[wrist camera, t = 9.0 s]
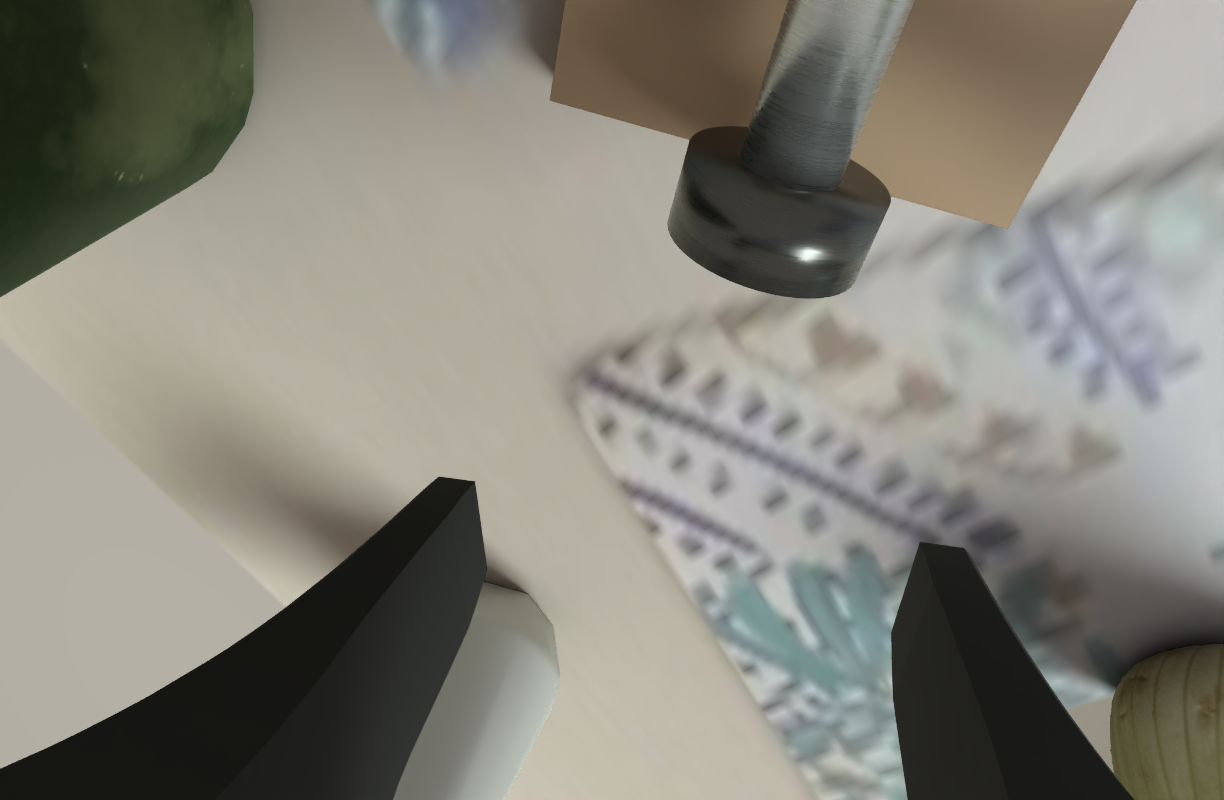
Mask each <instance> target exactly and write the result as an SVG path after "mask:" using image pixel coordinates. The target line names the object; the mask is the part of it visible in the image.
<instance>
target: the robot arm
mask: <svg viewBox="0 0 1224 800" xmlns="http://www.w3.org/2000/svg"><path fill="white" fill-rule="evenodd" d="M486 572H487V565H486V557H485V550H484V543H483V536H482V529H481V522H480V514H479V507H478V500H477V493H476V486H475V481H467V480H460V479H453V478H445V477H438V478H437V479H435V480H434V481H433V482H432V483H431V484H429V485H428V486H427V487H426V488H425V489H424V490H423V491H422V492H421V493H419V494H418V495H417V496H416V497H415V498H414V499H413V500H412V501H411V502H410V503H409V504H407V505H406V506H405V507H404V508H403V509H402V510H401V511H400V512H399V513H398V514H397V515H395V516H394V517H393V518H392V519H391V520H390V521H389V522H388V523H387V524H385V525H384V526H383V527H382V528H381V529H380V530H379V531H378V532H377V533H375V534H374V535H373V536H372V537H371V538H370V539H369V540H367V541H366V542H365V543H364V544H363V545H362V546H361V547H359V548H358V549H357V550H356V551H355V552H354V553H352V554H351V555H350V556H349V557H348V558H347V559H345V560H344V561H343V562H342V563H341V564H340V565H339V566H337V567H336V568H335V569H334V570H333V571H331V572H330V573H329V574H328V575H326V576H325V577H324V578H323V579H321V580H320V581H319V582H318V583H316V584H315V585H314V586H312V587H311V588H310V589H309V590H307V591H306V592H305V593H304V594H302V595H301V596H300V597H299V598H297V599H296V600H295V601H293V602H292V603H291V604H290V605H288V606H287V607H286V608H284V609H283V610H282V611H280V612H279V613H278V614H276V615H275V616H274V617H272V618H271V619H269V620H268V621H267V622H265V623H264V624H263V625H261V626H260V627H258V628H257V629H255V630H254V631H253V632H251V633H250V634H248V635H247V636H245V637H244V638H242V639H241V640H239V641H238V642H237V643H235V644H234V645H232V646H231V647H229V648H228V649H226V650H224V651H223V652H221V653H220V654H218V655H217V656H215V657H213V658H212V659H210V660H209V661H207V662H206V663H204V664H202V665H200V666H199V667H197V668H195V669H194V670H192V671H190V672H189V673H187V674H185V675H184V676H182V677H180V678H178V679H177V680H175V681H173V682H172V683H170V684H168V685H167V686H165V687H164V688H162V689H160V690H158V691H157V692H155V693H153V694H152V695H150V696H148V697H146V698H144V699H143V700H141V701H139V702H137V703H135V704H133V705H131V706H129V707H128V708H126V709H124V710H122V711H120V712H119V713H117V714H115V715H113V716H111V717H109V718H107V719H105V720H103V721H101V722H99V723H97V724H95V725H93V726H91V727H89V728H87V729H85V730H83V731H81V732H79V733H77V734H75V735H73V736H71V737H69V738H67V739H65V740H63V741H61V742H59V743H57V744H55V745H52V746H50V747H48V748H46V749H44V750H42V751H39V752H37V753H35V754H33V755H30V756H28V757H26V758H23V759H21V760H19V761H17V762H15V763H12V764H10V765H8V766H6V767H3V768H1V769H0V800H393V798H394V796H395V793H396V790H397V787H398V784H399V781H400V779H401V777H402V774H403V772H404V769H405V767H406V764H407V762H408V760H409V757H410V755H411V752H412V750H413V748H414V746H415V744H416V742H417V740H418V737H419V735H420V733H421V731H422V729H423V727H424V724H425V722H426V720H427V718H428V716H429V714H430V712H431V709H432V707H433V705H434V703H435V701H436V699H437V696H438V694H439V692H440V690H441V688H442V686H443V683H444V681H445V679H446V677H447V675H448V673H449V671H450V668H451V666H452V664H453V662H454V660H455V657H456V655H457V653H458V651H459V649H460V646H461V644H462V642H463V640H464V637H465V635H466V633H467V631H468V628H469V626H470V623H471V620H472V617H473V614H474V611H475V608H476V605H477V602H478V598H479V595H480V592H481V589H482V585H483V582H484V579H485V576H486ZM891 642H892V682H893V702H894V709H895V716H896V723H897V730H898V737H899V744H900V751H901V757H902V764H903V771H904V777H905V784H906V791H907V797H908V800H1135V799H1134V798H1133V797H1132V796H1131V795H1130V793H1129V792H1128V791H1127V790H1126V789H1125V787H1124V786H1123V785H1122V784H1121V782H1120V781H1119V780H1118V778H1117V777H1116V776H1115V775H1114V773H1113V772H1112V771H1111V770H1110V768H1109V767H1108V766H1107V765H1106V763H1105V762H1104V761H1103V759H1102V758H1101V757H1100V755H1099V754H1098V753H1097V751H1096V750H1095V749H1094V747H1093V746H1092V745H1091V743H1090V742H1089V741H1088V739H1087V738H1086V737H1085V735H1084V734H1083V732H1082V731H1081V730H1080V728H1079V727H1078V726H1077V724H1076V723H1075V722H1074V720H1073V719H1072V717H1071V716H1070V715H1069V713H1068V712H1067V710H1066V709H1065V707H1064V706H1063V705H1062V703H1061V702H1060V700H1059V699H1058V697H1057V696H1056V695H1055V693H1054V692H1053V690H1052V689H1051V687H1050V686H1049V684H1048V683H1047V681H1046V680H1045V678H1044V677H1043V675H1042V673H1041V672H1040V670H1039V669H1038V667H1037V666H1036V664H1035V663H1034V661H1033V660H1032V658H1031V657H1030V655H1029V654H1028V652H1027V651H1026V649H1025V648H1024V646H1023V644H1022V643H1021V641H1020V640H1019V638H1018V636H1017V635H1016V633H1015V632H1014V630H1013V628H1012V627H1011V625H1010V623H1009V622H1008V620H1007V619H1006V617H1005V615H1004V614H1003V612H1002V610H1001V609H1000V607H999V605H998V604H997V602H996V600H995V598H994V597H993V595H992V593H991V592H990V590H989V588H988V586H987V585H986V583H985V581H984V579H983V578H982V576H981V574H980V572H979V570H978V569H977V567H976V565H975V563H974V562H973V560H972V558H971V556H970V555H969V553H968V552H967V551H966V550H965V549H964V548H959V547H952V546H945V545H937V544H930V543H923V542H920V544H919V547H918V550H917V553H916V556H915V560H914V563H913V566H912V569H911V572H910V575H909V578H908V582H907V585H906V588H905V591H904V594H903V597H902V600H901V604H900V607H899V610H898V613H897V616H896V619H895V622H894V625H893V629H892V632H891Z"/></svg>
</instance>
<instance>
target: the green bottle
mask: <svg viewBox="0 0 1224 800" xmlns="http://www.w3.org/2000/svg"><path fill="white" fill-rule="evenodd" d="M252 96H253V13H252V9H251V5H250V1H249V0H0V297H2V296H3V295H5V294H7V293H8V292H10V291H12V290H14V289H15V288H17V287H19V286H20V285H22V284H24V283H26V282H27V281H29V280H31V279H32V278H34V277H36V276H37V275H39V274H41V273H43V272H44V271H46V270H48V269H49V268H51V267H53V266H55V265H56V264H58V263H60V262H61V261H63V260H65V259H67V258H68V257H70V256H72V255H73V254H75V253H77V252H78V251H80V250H82V249H84V248H85V247H87V246H89V245H90V244H92V243H94V242H96V241H97V240H99V239H101V238H102V237H104V236H106V235H107V234H109V233H111V232H113V231H114V230H116V229H118V228H119V227H121V226H123V225H125V224H126V223H128V222H130V221H131V220H133V219H135V218H136V217H138V216H140V215H142V214H143V213H145V212H147V211H148V210H150V209H152V208H154V207H155V206H157V205H159V204H160V203H162V202H164V201H165V200H167V199H169V198H171V197H172V196H174V195H176V194H177V193H179V192H181V191H183V190H184V189H186V188H188V187H189V186H191V185H192V184H194V183H196V182H197V181H199V180H200V179H202V178H203V177H205V176H206V175H208V174H209V173H211V172H212V171H213V170H214V168H215V167H216V166H217V164H218V163H219V161H220V160H221V158H222V157H223V155H224V154H225V153H226V151H227V150H228V148H229V147H230V145H231V144H232V143H233V141H234V140H235V138H236V137H237V135H238V134H239V132H240V131H241V130H242V128H243V127H244V125H245V121H246V118H247V114H248V110H249V107H250V103H251V99H252Z"/></svg>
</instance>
